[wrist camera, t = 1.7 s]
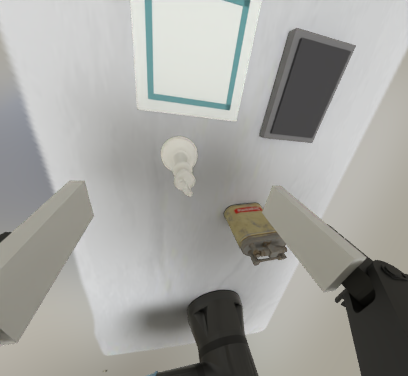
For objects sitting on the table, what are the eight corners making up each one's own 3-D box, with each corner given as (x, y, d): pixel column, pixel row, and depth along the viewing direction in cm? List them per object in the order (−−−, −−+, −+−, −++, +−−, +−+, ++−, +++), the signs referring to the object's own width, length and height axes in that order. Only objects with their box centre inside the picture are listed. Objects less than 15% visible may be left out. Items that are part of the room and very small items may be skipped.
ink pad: (305, 140, 24) (314, 143, 23) (259, 136, 22) (265, 138, 21) (345, 48, 19) (359, 44, 18) (289, 31, 17) (299, 26, 16)
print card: (235, 121, 21) (236, 121, 20) (137, 109, 18) (137, 109, 18) (263, -14, 15) (265, -16, 15) (126, -62, 12) (125, -66, 12)
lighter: (262, 201, 29) (301, 245, 20) (258, 217, 31) (292, 264, 22) (224, 205, 28) (249, 254, 19) (222, 222, 29) (245, 273, 21)
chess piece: (185, 128, 20) (198, 153, 12) (203, 160, 23) (224, 199, 14) (153, 148, 20) (142, 185, 12) (173, 177, 23) (177, 224, 15)
